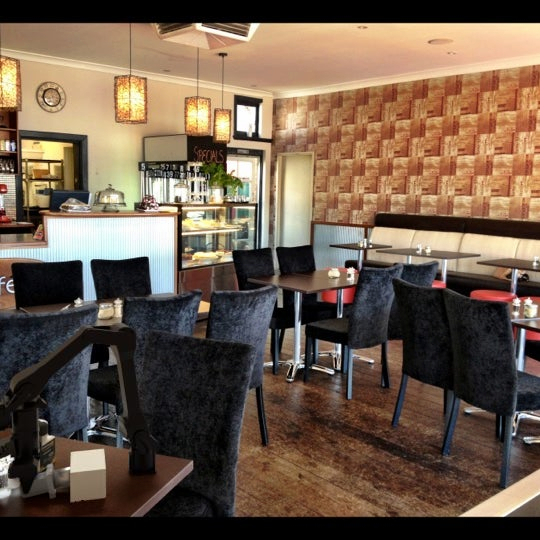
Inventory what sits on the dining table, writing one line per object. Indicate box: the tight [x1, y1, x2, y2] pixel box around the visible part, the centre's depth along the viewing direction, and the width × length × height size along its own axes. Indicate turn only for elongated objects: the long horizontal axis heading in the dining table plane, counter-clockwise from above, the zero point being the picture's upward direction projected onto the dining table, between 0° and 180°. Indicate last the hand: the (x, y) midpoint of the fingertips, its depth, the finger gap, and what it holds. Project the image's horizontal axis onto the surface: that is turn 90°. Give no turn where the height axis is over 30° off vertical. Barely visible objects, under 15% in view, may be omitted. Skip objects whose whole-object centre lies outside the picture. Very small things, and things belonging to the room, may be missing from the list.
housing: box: [69, 448, 107, 503], centre depth 142 cm, size 8×12×7 cm, turn 18°
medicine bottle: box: [38, 418, 56, 473], centre depth 154 cm, size 7×7×12 cm
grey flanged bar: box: [19, 462, 70, 500], centre depth 140 cm, size 13×6×6 cm, turn 107°
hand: (26, 489), depth 138 cm, fingers closed on grey flanged bar, 4 cm apart
